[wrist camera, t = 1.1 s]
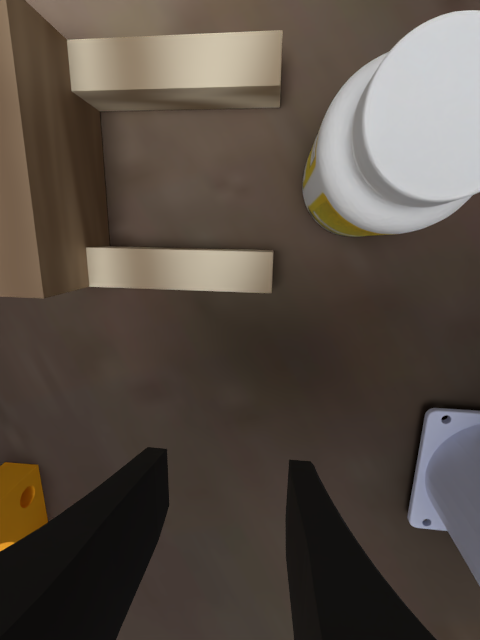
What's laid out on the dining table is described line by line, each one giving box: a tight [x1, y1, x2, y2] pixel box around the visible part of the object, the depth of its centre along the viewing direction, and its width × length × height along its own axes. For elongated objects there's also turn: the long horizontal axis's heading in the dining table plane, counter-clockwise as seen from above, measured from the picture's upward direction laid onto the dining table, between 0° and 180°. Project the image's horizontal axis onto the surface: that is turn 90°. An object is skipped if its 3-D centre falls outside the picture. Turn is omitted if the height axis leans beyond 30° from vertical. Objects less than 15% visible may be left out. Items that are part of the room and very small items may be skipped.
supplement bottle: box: [302, 10, 480, 237], centre depth 12 cm, size 5×5×10 cm
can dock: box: [0, 0, 283, 298], centre depth 15 cm, size 12×11×6 cm
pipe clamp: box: [0, 462, 48, 551], centre depth 22 cm, size 12×4×6 cm, turn 0°
